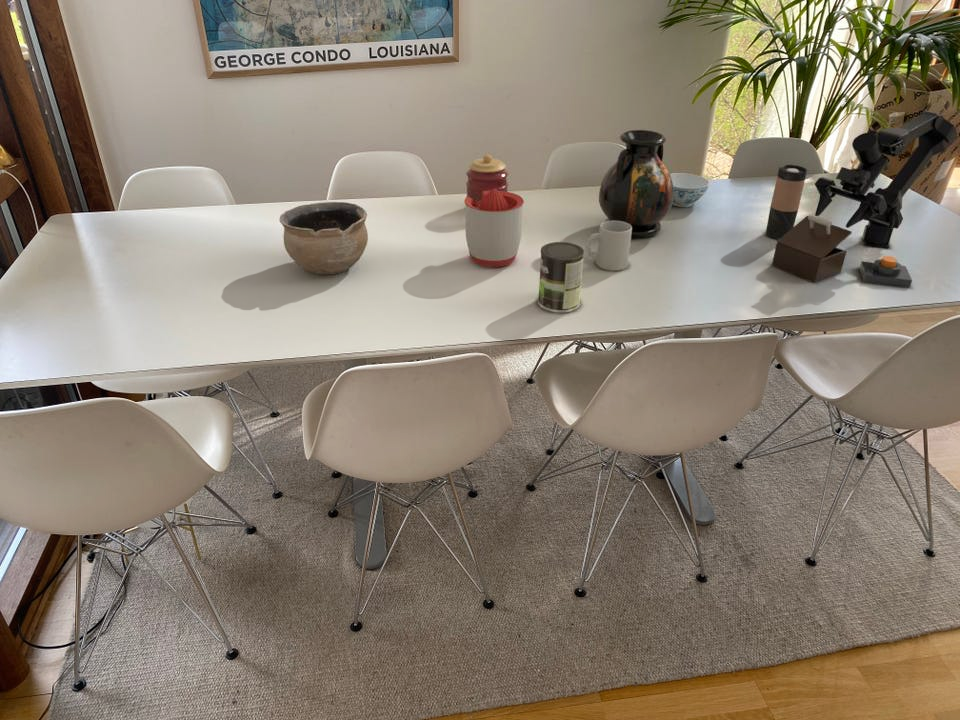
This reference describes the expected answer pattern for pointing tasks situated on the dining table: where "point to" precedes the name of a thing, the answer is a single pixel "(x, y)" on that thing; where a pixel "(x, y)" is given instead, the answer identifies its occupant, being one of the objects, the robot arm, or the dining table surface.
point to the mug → (612, 245)
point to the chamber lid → (814, 237)
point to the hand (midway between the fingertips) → (830, 221)
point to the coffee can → (560, 277)
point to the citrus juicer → (494, 227)
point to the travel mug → (785, 200)
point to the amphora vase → (638, 184)
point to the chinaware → (688, 188)
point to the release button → (888, 261)
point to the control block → (885, 274)
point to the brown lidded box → (808, 263)
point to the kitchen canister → (485, 177)
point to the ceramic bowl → (325, 236)
